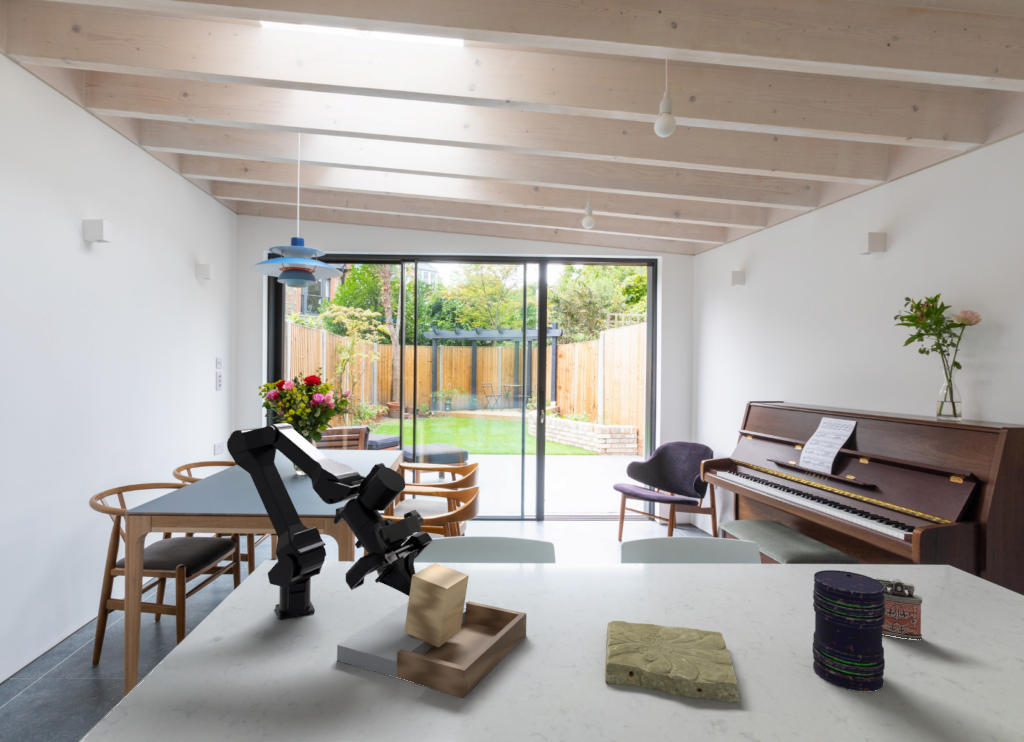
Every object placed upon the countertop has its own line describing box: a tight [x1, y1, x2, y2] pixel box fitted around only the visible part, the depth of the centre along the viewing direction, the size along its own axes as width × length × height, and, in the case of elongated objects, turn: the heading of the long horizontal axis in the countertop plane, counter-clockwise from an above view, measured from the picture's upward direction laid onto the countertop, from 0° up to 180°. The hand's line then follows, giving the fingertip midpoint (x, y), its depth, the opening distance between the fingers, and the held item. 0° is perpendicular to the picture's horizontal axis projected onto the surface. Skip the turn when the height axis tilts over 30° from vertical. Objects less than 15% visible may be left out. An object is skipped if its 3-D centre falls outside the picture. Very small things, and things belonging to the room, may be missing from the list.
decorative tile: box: [604, 620, 741, 703], centre depth 93 cm, size 19×20×4 cm
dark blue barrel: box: [812, 569, 886, 693], centre depth 90 cm, size 10×10×15 cm
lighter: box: [874, 577, 923, 640], centre depth 104 cm, size 8×3×10 cm, turn 65°
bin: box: [397, 600, 527, 699], centre depth 95 cm, size 12×22×4 cm, turn 154°
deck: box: [336, 602, 466, 678], centre depth 100 cm, size 12×22×2 cm, turn 154°
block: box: [404, 562, 469, 647], centre depth 98 cm, size 7×7×10 cm
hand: (418, 597), depth 99 cm, fingers closed
